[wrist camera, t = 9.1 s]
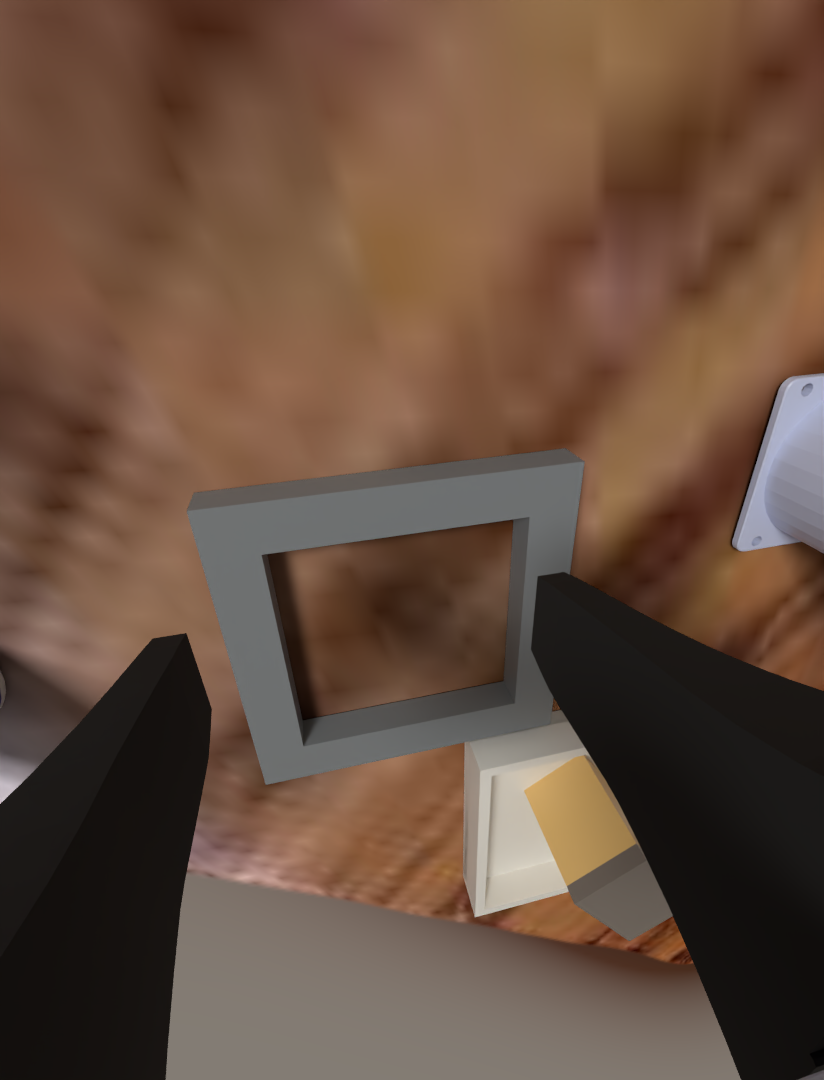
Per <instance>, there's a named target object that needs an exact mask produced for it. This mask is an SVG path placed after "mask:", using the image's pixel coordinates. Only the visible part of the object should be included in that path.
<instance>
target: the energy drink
mask: <svg viewBox="0 0 824 1080" xmlns="http://www.w3.org/2000/svg"><path fill="white" fill-rule="evenodd" d="M5 695H6V687H5V680H4V678H3V675H2V673H1V671H0V709H1V707H2V705H3V703H4V701H5Z"/></svg>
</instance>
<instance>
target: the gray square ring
mask: <svg viewBox="0 0 824 1080" xmlns="http://www.w3.org/2000/svg"><path fill="white" fill-rule="evenodd" d="M584 462H585V461H583V460H582V459H580V458H579V457H577V456H576V455H574V454H573V453H571V452H570V451H568V450H567V449H566V448H565V449H557V450H548V451H540V452H532V453H523V454H515V455H507V456H498V457H490V458H481V459H473V460H465V461H456V462H448V463H440V464H431V465H423V466H415V467H406V468H398V469H389V470H381V471H373V472H364V473H356V474H348V475H339V476H331V477H322V478H314V479H306V480H297V481H289V482H281V483H272V484H264V485H255V486H247V487H239V488H230V489H222V490H214V491H205V492H197V493H194V494H193V496H192V499H191V501H190V504H189V507H188V509H187V514H188V517H189V521H190V524H191V528H192V531H193V535H194V538H195V542H196V545H197V548H198V552H199V555H200V559H201V562H202V566H203V569H204V573H205V576H206V580H207V583H208V586H209V590H210V593H211V597H212V600H213V604H214V607H215V611H216V614H217V618H218V621H219V624H220V628H221V631H222V635H223V638H224V642H225V645H226V649H227V652H228V656H229V659H230V662H231V666H232V669H233V673H234V676H235V680H236V683H237V687H238V690H239V694H240V697H241V700H242V704H243V707H244V711H245V714H246V718H247V721H248V725H249V728H250V732H251V735H252V738H253V742H254V745H255V749H256V752H257V756H258V759H259V763H260V766H261V770H262V773H263V776H264V780H265V783H266V785H267V784H272V783H276V782H281V781H286V780H290V779H295V778H300V777H304V776H309V775H314V774H318V773H323V772H328V771H333V770H337V769H342V768H347V767H351V766H356V765H361V764H365V763H370V762H375V761H379V760H384V759H389V758H393V757H398V756H403V755H407V754H412V753H417V752H421V751H426V750H431V749H436V748H440V747H445V746H450V745H454V744H459V743H464V742H468V741H473V740H478V739H482V738H487V737H492V736H496V735H501V734H506V733H510V732H515V731H520V730H524V729H529V728H534V727H539V726H543V725H548V724H550V721H551V713H552V706H553V698H554V697H553V695H552V694H551V692H550V690H549V689H548V686H547V684H546V682H545V680H544V678H543V676H542V674H541V672H540V669H539V667H538V665H537V662H536V660H535V658H534V656H533V653H532V651H531V642H532V631H533V620H534V610H535V599H536V589H537V578H538V576H542V575H548V574H554V573H560V572H565V573H568V574H570V568H571V561H572V553H573V546H574V538H575V530H576V523H577V515H578V507H579V500H580V492H581V484H582V477H583V469H584ZM512 519H514V521H513V537H512V553H511V569H510V585H509V601H508V617H507V633H506V649H505V665H504V681H502V682H497V683H491V684H486V685H481V686H476V687H471V688H466V689H461V690H456V691H451V692H446V693H440V694H435V695H430V696H425V697H420V698H415V699H410V700H405V701H400V702H394V703H389V704H384V705H379V706H374V707H369V708H364V709H359V710H354V711H348V712H343V713H338V714H333V715H328V716H323V717H318V718H313V719H308V720H302V715H301V711H300V706H299V701H298V696H297V692H296V687H295V682H294V678H293V673H292V668H291V664H290V659H289V654H288V649H287V645H286V640H285V635H284V631H283V626H282V621H281V617H280V612H279V607H278V602H277V598H276V593H275V588H274V584H273V579H272V574H271V570H270V565H269V560H268V555H267V554H272V553H279V552H286V551H293V550H300V549H307V548H314V547H321V546H328V545H335V544H342V543H349V542H356V541H363V540H371V539H378V538H385V537H392V536H399V535H406V534H413V533H420V532H427V531H434V530H441V529H448V528H455V527H462V526H470V525H477V524H484V523H491V522H498V521H505V520H512Z"/></svg>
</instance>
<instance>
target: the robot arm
mask: <svg viewBox="0 0 824 1080" xmlns="http://www.w3.org/2000/svg"><path fill="white" fill-rule="evenodd" d="M803 387H804V389H803ZM802 389H803V390H802ZM797 542H803V543H805V544H807V545H809V546H811V547H813V548H814V549H816V550H818V551H820V552H822V553H823V554H824V373H822V374H812V375H803V376H793V377H790V378H788V379H787V380H785V381H784V382H783V383H782V385H781V386H780V388H779V390H778V394H777V397H776V400H775V404H774V407H773V410H772V413H771V417H770V420H769V423H768V426H767V430H766V433H765V436H764V439H763V443H762V446H761V449H760V452H759V456H758V459H757V462H756V465H755V469H754V472H753V475H752V478H751V482H750V485H749V488H748V492H747V495H746V498H745V501H744V505H743V508H742V511H741V514H740V518H739V521H738V524H737V527H736V531H735V534H734V537H733V541H732V545H733V547H734V548H736V549H738V550H739V551H749V550H755V549H761V548H767V547H773V546H779V545H785V544H791V543H797ZM531 651H532V653H533V656H534V658H535V660H536V662H537V665H538V667H539V669H540V672H541V674H542V676H543V678H544V680H545V682H546V684H547V686H548V689H549V690H550V692H551V694H552V695H553V697H554V699H555V700H556V702H557V704H558V705H559V707H560V709H561V710H562V712H563V713H564V715H565V717H566V718H567V720H568V721H569V723H570V725H571V726H572V728H573V729H574V731H575V733H576V734H577V736H578V737H579V739H580V741H581V742H582V744H583V745H584V747H585V748H586V750H587V752H588V753H589V755H590V756H591V758H592V760H593V761H594V763H595V764H596V766H597V768H598V769H599V771H600V772H601V774H602V776H603V777H604V779H605V780H606V782H607V784H608V786H609V787H610V789H611V791H612V792H613V794H614V796H615V798H616V799H617V801H618V803H619V805H620V807H621V809H622V811H623V813H624V815H625V817H626V819H627V821H628V823H629V825H630V827H631V829H632V831H633V833H634V835H635V837H636V839H637V841H638V843H639V845H640V847H641V849H642V851H643V853H644V855H645V857H646V859H647V861H648V864H649V866H650V868H651V870H652V872H653V874H654V876H655V878H656V880H657V883H658V885H659V887H660V889H661V891H662V893H663V895H664V897H665V899H666V902H667V904H668V906H669V908H670V910H671V913H672V915H673V917H674V920H675V922H676V924H677V926H678V929H679V931H680V933H681V935H682V938H683V940H684V942H685V944H686V947H687V949H688V951H689V953H690V956H691V958H692V960H693V962H694V965H695V967H696V969H697V972H698V974H699V976H700V979H701V981H702V984H703V986H704V988H705V991H706V993H707V996H708V998H709V1001H710V1003H711V1005H712V1008H713V1010H714V1013H715V1015H716V1018H717V1020H718V1023H719V1025H720V1027H721V1030H722V1032H723V1035H724V1037H725V1039H726V1042H727V1045H728V1047H729V1050H730V1052H731V1055H732V1057H733V1060H734V1063H735V1065H736V1067H737V1070H738V1073H739V1075H740V1078H741V1080H824V691H822V690H819V689H816V688H813V687H810V686H807V685H804V684H801V683H798V682H795V681H792V680H789V679H787V678H784V677H781V676H779V675H776V674H773V673H770V672H768V671H765V670H763V669H760V668H758V667H756V666H753V665H751V664H748V663H746V662H743V661H741V660H738V659H736V658H733V657H731V656H728V655H726V654H724V653H722V652H719V651H717V650H715V649H713V648H710V647H708V646H706V645H704V644H702V643H700V642H698V641H696V640H693V639H691V638H689V637H687V636H685V635H683V634H681V633H679V632H677V631H675V630H673V629H671V628H669V627H667V626H665V625H663V624H661V623H659V622H657V621H655V620H653V619H651V618H649V617H648V616H646V615H644V614H642V613H640V612H638V611H636V610H634V609H633V608H631V607H629V606H627V605H625V604H623V603H622V602H620V601H618V600H616V599H614V598H613V597H611V596H609V595H607V594H605V593H604V592H602V591H600V590H598V589H596V588H594V587H593V586H591V585H589V584H587V583H585V582H583V581H582V580H580V579H578V578H576V577H574V576H572V575H570V574H568V573H565V572H560V573H554V574H548V575H542V576H538V578H537V589H536V599H535V610H534V620H533V631H532V642H531ZM211 711H212V709H211V706H210V703H209V700H208V697H207V694H206V691H205V688H204V685H203V682H202V679H201V676H200V673H199V670H198V667H197V664H196V661H195V658H194V655H193V652H192V649H191V646H190V643H189V640H188V637H187V634H186V633H185V634H178V635H172V636H166V637H160V638H154V639H152V640H151V641H150V642H149V644H148V645H147V646H146V647H145V648H144V649H143V650H142V652H141V653H140V654H139V655H138V656H137V657H136V659H135V660H134V661H133V662H132V663H131V664H130V666H129V667H128V668H127V669H126V670H125V672H124V673H123V674H122V675H121V676H120V677H119V679H118V680H117V681H116V682H115V683H114V684H113V686H112V687H111V688H110V689H109V690H108V691H107V693H106V694H105V695H104V696H103V697H102V698H101V699H100V701H99V702H98V703H97V704H96V705H95V706H94V707H93V709H92V710H91V711H90V712H89V713H88V714H87V715H86V717H85V718H84V719H83V720H82V721H81V722H80V723H79V724H78V726H77V727H76V728H75V729H74V730H73V731H72V732H71V733H70V734H69V735H68V736H67V737H66V738H65V739H64V740H63V741H62V742H61V743H60V744H59V745H58V746H57V748H56V749H55V750H54V751H53V752H52V753H51V754H50V755H49V756H48V757H47V758H46V759H45V760H44V761H43V762H42V763H41V764H40V765H39V766H38V767H37V768H36V770H35V771H34V772H33V773H32V774H31V775H30V776H29V777H28V778H27V779H26V780H25V781H24V782H23V783H22V784H21V785H20V786H19V787H18V788H16V789H15V790H14V791H13V792H12V793H11V794H10V795H9V796H8V797H7V798H6V799H5V800H4V801H3V802H2V803H1V804H0V1080H165V1079H166V1078H165V1077H166V1064H167V1048H168V1036H169V1024H170V1012H171V1000H172V988H173V977H174V966H175V956H176V946H177V936H178V927H179V917H180V908H181V902H182V895H183V888H184V882H185V877H186V872H187V867H188V862H189V857H190V852H191V846H192V841H193V836H194V831H195V826H196V821H197V816H198V811H199V806H200V801H201V796H202V790H203V785H204V780H205V775H206V769H207V764H208V758H209V745H210V730H211Z"/></svg>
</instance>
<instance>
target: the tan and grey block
mask: <svg viewBox="0 0 824 1080" xmlns="http://www.w3.org/2000/svg"><path fill="white" fill-rule="evenodd" d="M524 792H525V794H526V796H527V799H528V801H529V803H530V805H531V808H532V810H533V812H534V814H535V817H536V819H537V821H538V823H539V826H540V828H541V830H542V832H543V835H544V837H545V839H546V841H547V843H548V846H549V848H550V850H551V852H552V855H553V857H554V859H555V861H556V864H557V866H558V868H559V870H560V873H561V875H562V877H563V879H564V882H565V884H566V886H567V888H568V891H569V893H570V895H571V897H572V900H573V902H574V904H575V905H577V906H578V907H580V908H581V909H583V910H584V911H585V912H587V913H588V914H590V915H591V916H593V917H594V918H596V919H597V920H599V921H600V922H602V923H603V924H605V925H606V926H608V927H609V928H611V929H612V930H614V931H615V932H617V933H618V934H620V935H621V936H623V937H624V938H626V939H627V940H629V941H631V940H632V939H634V938H636V937H637V936H639V935H641V934H643V933H644V932H646V931H648V930H649V929H651V928H653V927H654V926H656V925H658V924H660V923H661V922H663V921H665V920H666V919H668V918H670V917H672V916H673V915H672V913H671V910H670V908H669V906H668V904H667V902H666V899H665V897H664V895H663V893H662V891H661V889H660V887H659V885H658V883H657V880H656V878H655V876H654V874H653V872H652V870H651V868H650V866H649V864H648V861H647V859H646V857H645V855H644V853H643V851H642V849H641V847H640V845H639V843H638V841H637V839H636V837H635V835H634V833H633V831H632V829H631V827H630V825H629V823H628V821H627V819H626V817H625V815H624V813H623V811H622V809H621V807H620V805H619V803H618V801H617V799H616V798H615V796H614V794H613V792H612V791H611V789H610V787H609V786H608V784H607V782H606V780H605V779H604V777H603V776H602V774H601V772H600V771H599V770H598V769H597V768H596V767H595V765H594V764H593V763H592V762H591V761H590V760H589V759H588V758H587V757H586V756H585V755H583V756H579V757H574V758H573V759H571V760H570V761H568V762H567V763H565V764H564V765H562V766H560V767H559V768H557V769H556V770H554V771H553V772H551V773H550V774H548V775H547V776H545V777H544V778H542V779H541V780H539V781H538V782H536V783H535V784H533V785H532V786H530V787H528V788H527V789H525V790H524Z"/></svg>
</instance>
